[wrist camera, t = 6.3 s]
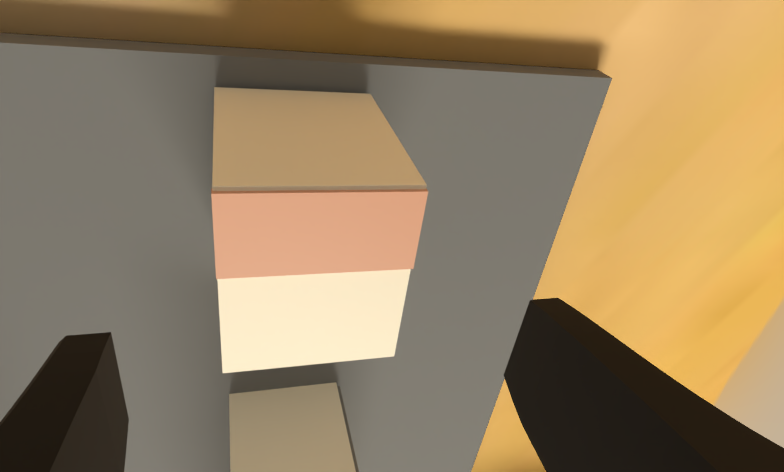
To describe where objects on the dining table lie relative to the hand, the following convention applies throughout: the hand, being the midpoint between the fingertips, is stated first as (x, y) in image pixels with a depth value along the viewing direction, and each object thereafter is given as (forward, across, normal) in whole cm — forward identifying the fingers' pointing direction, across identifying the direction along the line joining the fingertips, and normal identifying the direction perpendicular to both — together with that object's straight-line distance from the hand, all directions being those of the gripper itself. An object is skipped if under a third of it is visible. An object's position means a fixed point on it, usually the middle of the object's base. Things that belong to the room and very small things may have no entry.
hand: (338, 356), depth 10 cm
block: (+8, 0, 0) cm, 8 cm away
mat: (+9, 0, +10) cm, 14 cm away
